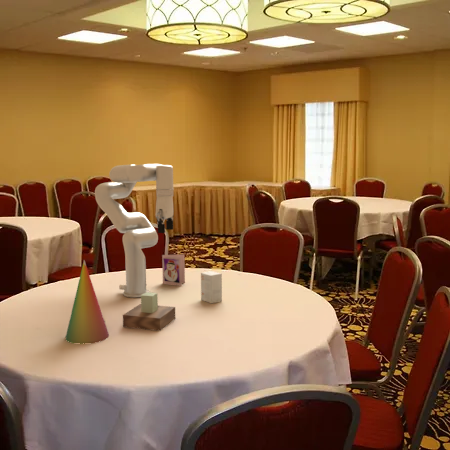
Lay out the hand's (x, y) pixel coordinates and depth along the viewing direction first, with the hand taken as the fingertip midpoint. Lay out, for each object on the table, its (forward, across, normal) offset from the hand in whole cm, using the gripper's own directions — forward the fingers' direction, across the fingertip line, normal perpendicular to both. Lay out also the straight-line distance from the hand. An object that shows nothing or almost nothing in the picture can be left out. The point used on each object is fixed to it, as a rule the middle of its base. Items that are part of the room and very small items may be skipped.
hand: (165, 231), depth 260 cm
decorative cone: (+34, +50, -12) cm, 61 cm away
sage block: (+28, +28, +4) cm, 40 cm away
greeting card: (+34, -35, -10) cm, 49 cm away
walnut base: (+33, +28, +4) cm, 44 cm away
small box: (+34, -10, +18) cm, 39 cm away
